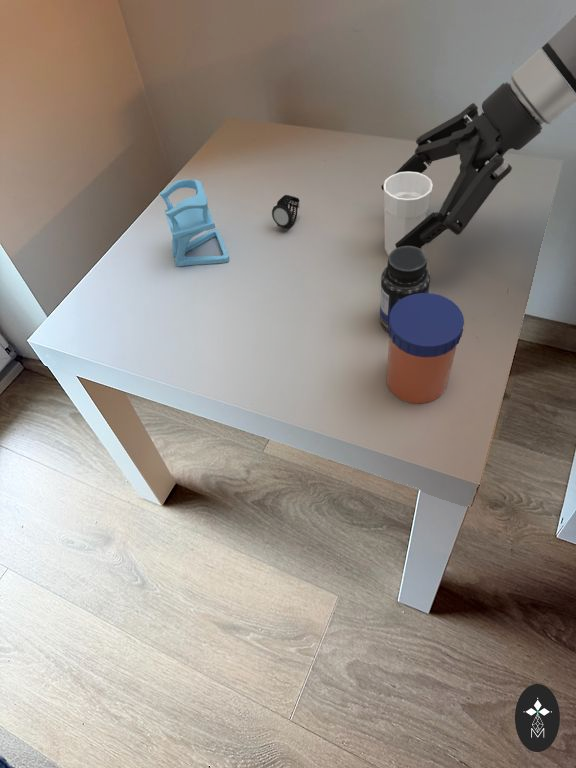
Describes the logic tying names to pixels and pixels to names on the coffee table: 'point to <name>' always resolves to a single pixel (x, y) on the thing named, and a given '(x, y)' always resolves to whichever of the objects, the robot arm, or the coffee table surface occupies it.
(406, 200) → the cup
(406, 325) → the jar lid
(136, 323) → the coffee table surface
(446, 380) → the jar
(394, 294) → the pill bottle
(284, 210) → the smartwatch
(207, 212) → the chair
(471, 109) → the robot arm
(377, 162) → the coffee table surface
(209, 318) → the coffee table surface
